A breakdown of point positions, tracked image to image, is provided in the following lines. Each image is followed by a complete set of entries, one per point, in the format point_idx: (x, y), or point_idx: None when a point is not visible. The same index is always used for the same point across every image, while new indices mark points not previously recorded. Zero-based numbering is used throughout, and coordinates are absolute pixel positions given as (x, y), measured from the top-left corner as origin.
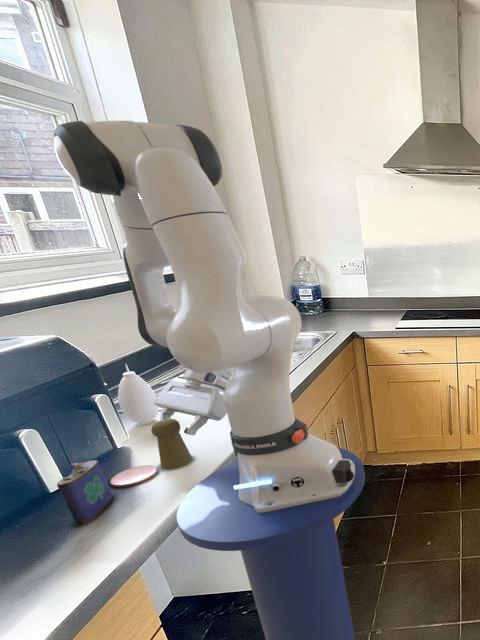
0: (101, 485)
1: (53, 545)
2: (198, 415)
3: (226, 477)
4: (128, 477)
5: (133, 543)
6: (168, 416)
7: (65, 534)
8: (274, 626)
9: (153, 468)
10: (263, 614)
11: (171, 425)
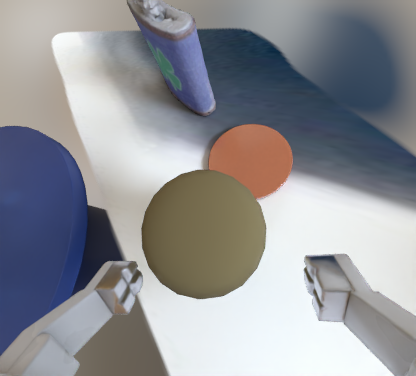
0: (174, 77)
1: None
2: (4, 372)
3: (38, 228)
4: (245, 148)
5: (76, 102)
6: (390, 358)
7: None
8: None
9: None
10: None
11: (142, 231)
